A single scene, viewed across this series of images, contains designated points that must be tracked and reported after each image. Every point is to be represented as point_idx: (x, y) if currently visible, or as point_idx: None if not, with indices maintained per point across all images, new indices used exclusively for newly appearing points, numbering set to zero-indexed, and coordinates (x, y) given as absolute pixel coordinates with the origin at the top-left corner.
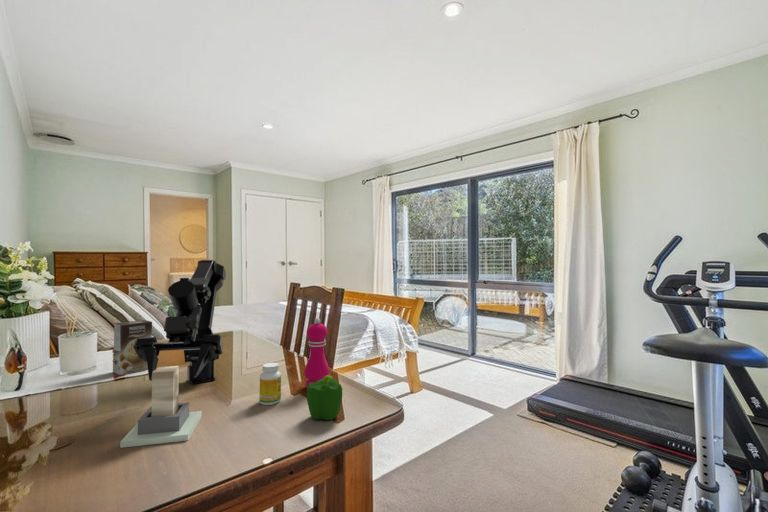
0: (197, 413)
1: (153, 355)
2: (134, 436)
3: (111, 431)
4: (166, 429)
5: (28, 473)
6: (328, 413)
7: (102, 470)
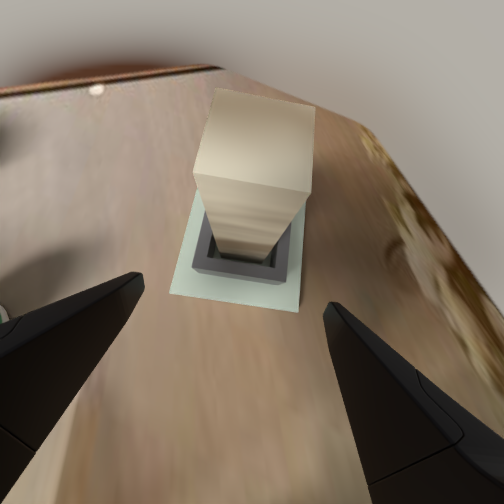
0: (179, 280)
1: (476, 479)
2: None
3: (341, 283)
4: None
5: (389, 181)
6: None
7: None
